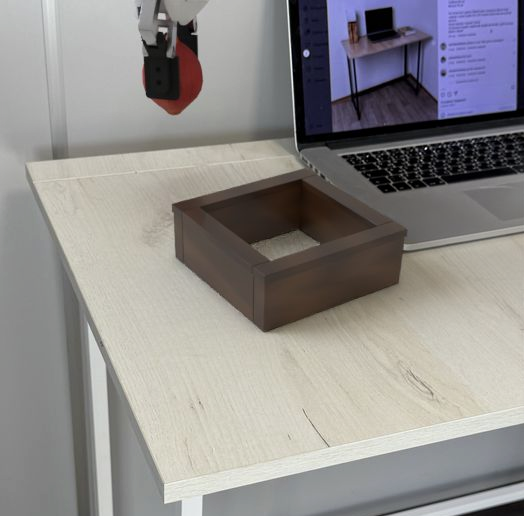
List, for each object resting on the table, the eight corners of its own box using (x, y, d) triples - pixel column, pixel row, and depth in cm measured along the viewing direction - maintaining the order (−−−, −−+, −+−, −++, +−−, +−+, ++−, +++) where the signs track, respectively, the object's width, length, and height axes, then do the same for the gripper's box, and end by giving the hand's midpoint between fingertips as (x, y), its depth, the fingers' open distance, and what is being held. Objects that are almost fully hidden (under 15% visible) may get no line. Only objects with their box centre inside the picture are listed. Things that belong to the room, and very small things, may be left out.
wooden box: (302, 218, 88) (305, 167, 85) (401, 283, 78) (408, 228, 75) (173, 256, 81) (171, 203, 78) (263, 333, 72) (265, 276, 68)
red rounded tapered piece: (135, 109, 87) (130, 26, 83) (189, 100, 89) (186, 19, 85) (157, 129, 83) (153, 43, 78) (213, 120, 85) (212, 35, 81)
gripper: (180, -107, 67) (187, 122, 77) (230, -136, 81) (230, 62, 91) (86, -112, 68) (106, 115, 78) (151, -140, 82) (160, 56, 92)
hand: (172, 84), depth 85 cm, fingers closed on red rounded tapered piece, 6 cm apart
